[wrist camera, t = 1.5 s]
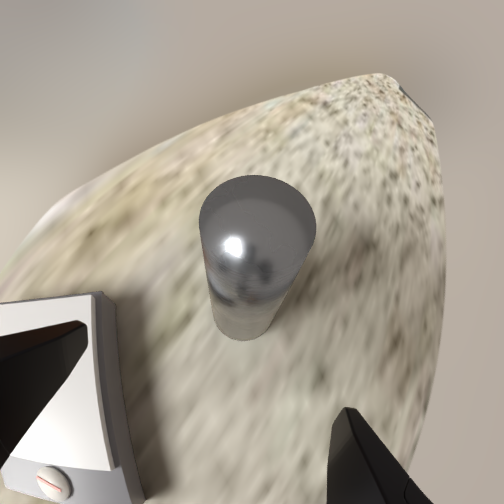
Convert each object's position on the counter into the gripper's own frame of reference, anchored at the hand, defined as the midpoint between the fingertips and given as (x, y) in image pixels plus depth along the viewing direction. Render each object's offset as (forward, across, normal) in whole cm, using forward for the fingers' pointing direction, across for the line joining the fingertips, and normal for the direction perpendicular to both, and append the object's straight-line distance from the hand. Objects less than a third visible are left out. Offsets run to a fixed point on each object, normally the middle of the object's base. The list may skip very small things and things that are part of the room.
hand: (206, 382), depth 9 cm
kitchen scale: (+4, +12, +13) cm, 18 cm away
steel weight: (+13, 0, +4) cm, 14 cm away
